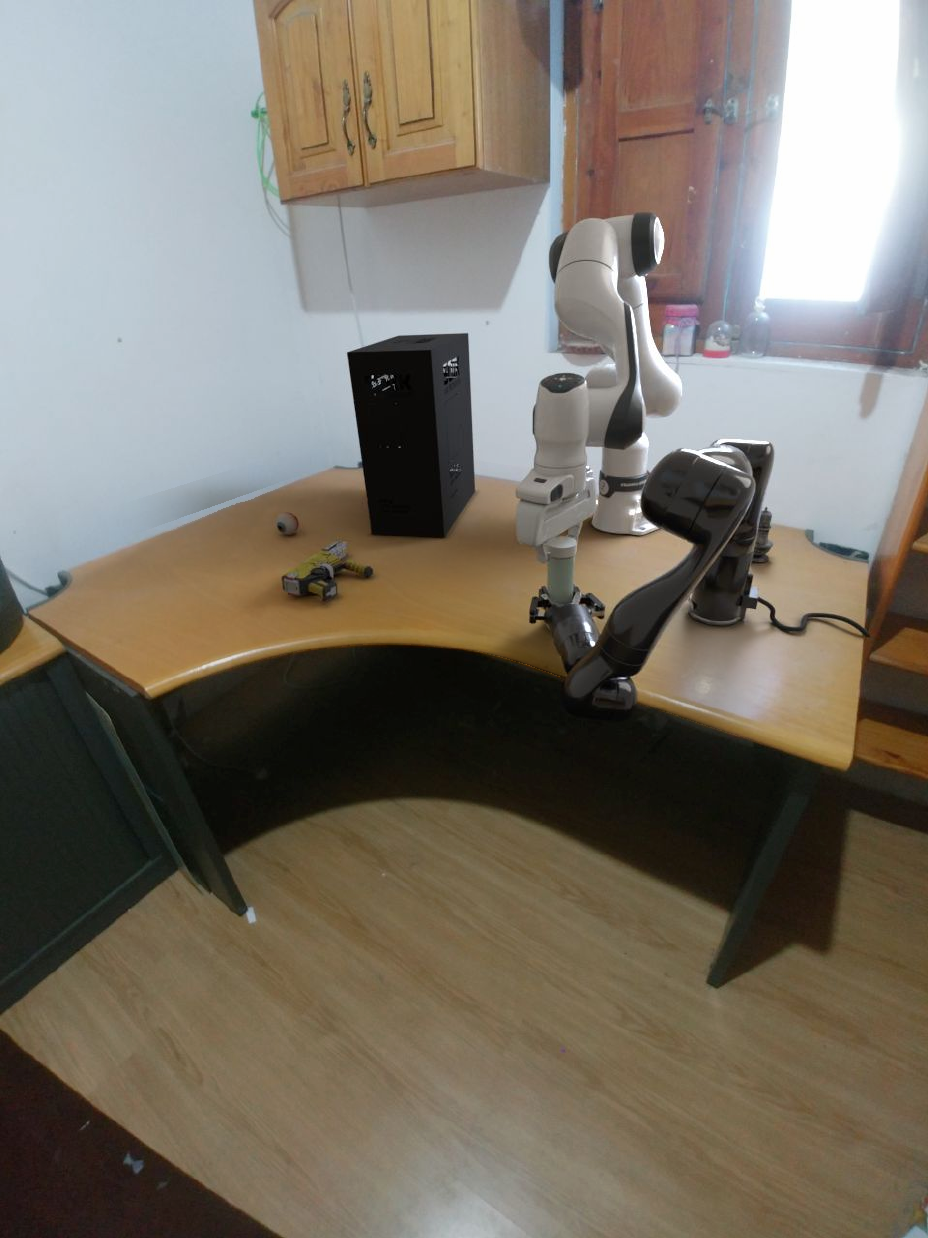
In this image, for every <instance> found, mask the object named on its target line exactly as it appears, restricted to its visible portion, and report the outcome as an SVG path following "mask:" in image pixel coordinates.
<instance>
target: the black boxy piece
mask: <svg viewBox="0 0 928 1238" xmlns="http://www.w3.org/2000/svg"><path fill="white" fill-rule="evenodd" d="M469 341H470V340H469V332H462V333H461V332H460V333H459V332H458V333H457V332H455V333H434V334H433V333H432V334H407V335H406V334H405V335H404V334H403V335H396V336H393V337H390V338H387V339H384V340H380V341H377V342H374V343H371V344H368V345H365V346H362V347H358V348H356V349H353V350H350V351H347V352H346V356H347V364H348V371H349V379H350V384H351V394H352V401H353V407H354V414H355V415H354V416H355V421H356V429H357V437H358V444H359V453H360V459H361V466H362V474H363V481H364V488H365V495H366V503H367V509H368V510H367V511H368V517H369V525H370V532H371V535H379V536H403V537H404V536H405V537H428V538H429V537H430V538H431V537H432V538H446V536H447V534H448V533H449V531H450V530H451V528H452V527H453V525H454V524H455V523H456V521H457V520H458V518H459V517H460V515H461V513H462V512H463V510H464V509H465V507H466V506H467V504H468V503H469V501H470V500H471V499H472V497H473V495H474V494H475V492H476V482H475V480H476V477H475V459H474V457H475V455H474V432H473V412H472V410H473V409H472V388H471V387H472V386H471V367H470V366H471V365H470V364H471V363H470V344H469V343H470V342H469ZM449 363H450V364H449Z"/></svg>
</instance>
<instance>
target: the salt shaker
mask: <svg viewBox="0 0 928 1238" xmlns="http://www.w3.org/2000/svg"><path fill="white" fill-rule="evenodd" d="M772 517H773V513H772V512H771V511H770V510H769V508H768V506H765V507H764V508H763V509H762V511H761V516H760V521H759V527H758V532H757V537H756V542H755V547H754V552H753V557H752V562H755V563H763V562H767V561H768V560H769V559H770V557H769V555H767V554H768V553H769V552H770V551H771V550H772V547H773V546H774V542H773V541H772V540H770V539H769V533H770V530H771V529H772V525H771V522H772Z"/></svg>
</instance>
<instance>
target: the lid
mask: <svg viewBox="0 0 928 1238" xmlns="http://www.w3.org/2000/svg"><path fill="white" fill-rule="evenodd" d="M577 547H578V543H577V541H576V540H575V539H573V538H570V537H566V536H565V535H564V536H563V535H562V536H560V535H558V536H555V537H553V538H552V539H550V540H548V541H547V546H546V550H547V551H548V552H550V556H551V557H554V558H569V557H572V556H574V555H575V556H576V555H577Z"/></svg>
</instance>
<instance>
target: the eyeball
mask: <svg viewBox="0 0 928 1238" xmlns="http://www.w3.org/2000/svg"><path fill="white" fill-rule="evenodd" d="M299 525H300V522H299V519H298V517H297V516H296V515H295V514H294V513H292V512H287V511H286V512H282V513H280V514H279V515H278V516H277V517H276V520H275V527H276V529H277V530H278V531H279V532H280V533H281V534H282V535H285V536H286V535H287V536H289V535H293V534H295V533H296V532H297V531H298V529H299Z"/></svg>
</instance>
